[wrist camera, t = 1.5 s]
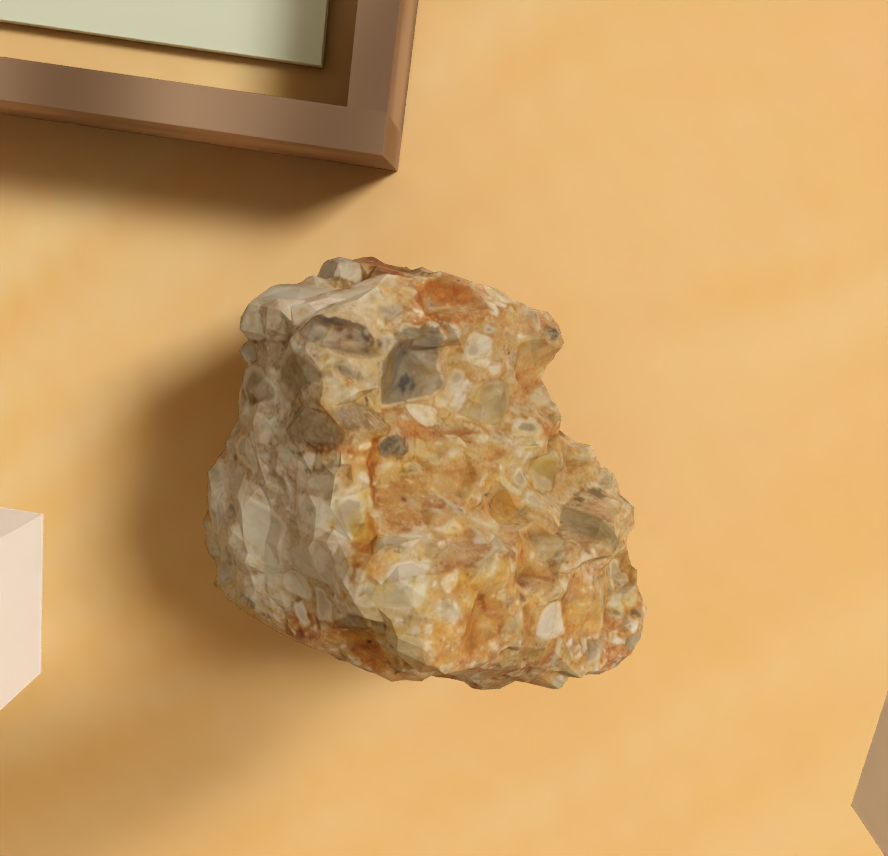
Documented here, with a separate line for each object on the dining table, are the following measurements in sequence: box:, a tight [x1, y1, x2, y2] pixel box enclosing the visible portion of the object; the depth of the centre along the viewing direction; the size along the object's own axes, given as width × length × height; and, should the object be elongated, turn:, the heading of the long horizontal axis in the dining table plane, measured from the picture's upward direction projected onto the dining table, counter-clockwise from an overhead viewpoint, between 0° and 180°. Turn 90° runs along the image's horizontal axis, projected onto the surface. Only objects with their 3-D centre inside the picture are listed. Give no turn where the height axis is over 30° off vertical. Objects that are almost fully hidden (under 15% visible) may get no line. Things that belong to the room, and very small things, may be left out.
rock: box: [203, 257, 647, 690], centre depth 18 cm, size 12×10×10 cm
